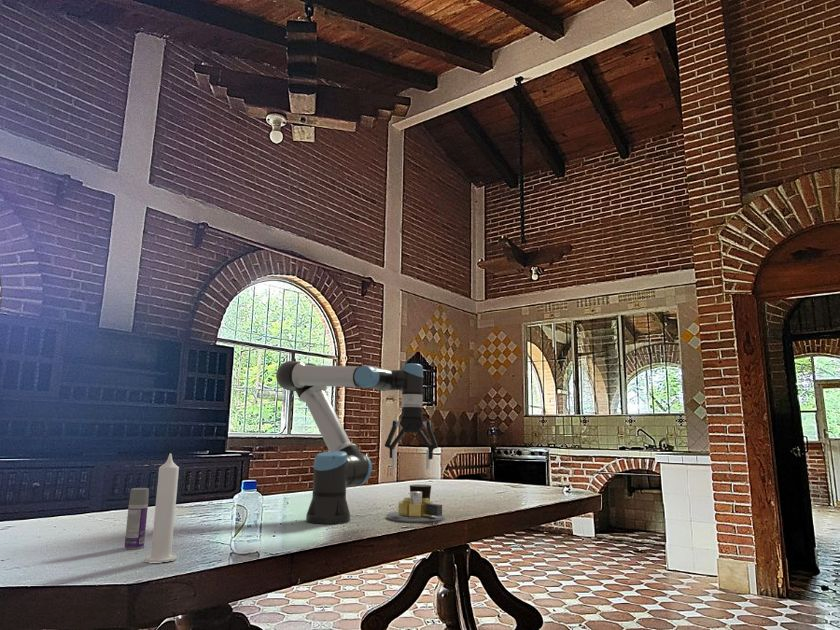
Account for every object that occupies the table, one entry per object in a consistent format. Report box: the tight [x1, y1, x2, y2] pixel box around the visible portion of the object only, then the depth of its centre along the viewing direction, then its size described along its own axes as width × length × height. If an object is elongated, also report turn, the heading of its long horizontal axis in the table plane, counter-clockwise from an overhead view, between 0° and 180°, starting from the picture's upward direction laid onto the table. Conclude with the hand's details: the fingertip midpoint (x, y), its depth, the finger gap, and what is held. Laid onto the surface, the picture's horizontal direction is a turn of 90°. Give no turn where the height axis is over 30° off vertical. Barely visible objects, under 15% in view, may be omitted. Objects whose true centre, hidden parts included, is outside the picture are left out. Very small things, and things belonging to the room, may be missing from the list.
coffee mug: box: [409, 484, 432, 502], centre depth 234 cm, size 12×9×10 cm
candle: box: [143, 453, 180, 562], centre depth 144 cm, size 7×7×25 cm
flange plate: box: [386, 491, 446, 524], centre depth 216 cm, size 21×21×9 cm
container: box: [123, 487, 150, 550], centre depth 157 cm, size 5×5×15 cm
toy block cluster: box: [397, 497, 443, 517], centre depth 213 cm, size 19×12×5 cm, turn 42°
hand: (410, 468), depth 209 cm, fingers open, 12 cm apart
